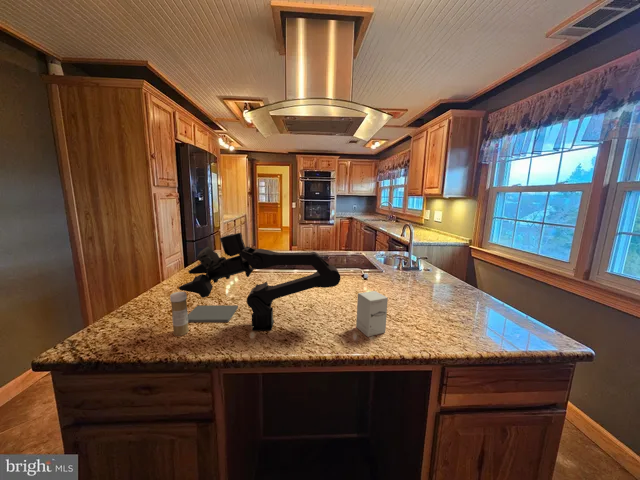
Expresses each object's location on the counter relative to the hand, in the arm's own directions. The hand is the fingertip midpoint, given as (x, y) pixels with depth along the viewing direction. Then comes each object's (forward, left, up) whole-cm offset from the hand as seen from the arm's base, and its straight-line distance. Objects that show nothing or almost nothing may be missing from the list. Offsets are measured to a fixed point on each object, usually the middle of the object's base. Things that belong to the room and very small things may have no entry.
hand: (184, 280), depth 82 cm
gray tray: (-4, -10, -17) cm, 20 cm away
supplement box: (-62, +2, -17) cm, 65 cm away
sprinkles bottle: (+1, +3, -17) cm, 17 cm away
